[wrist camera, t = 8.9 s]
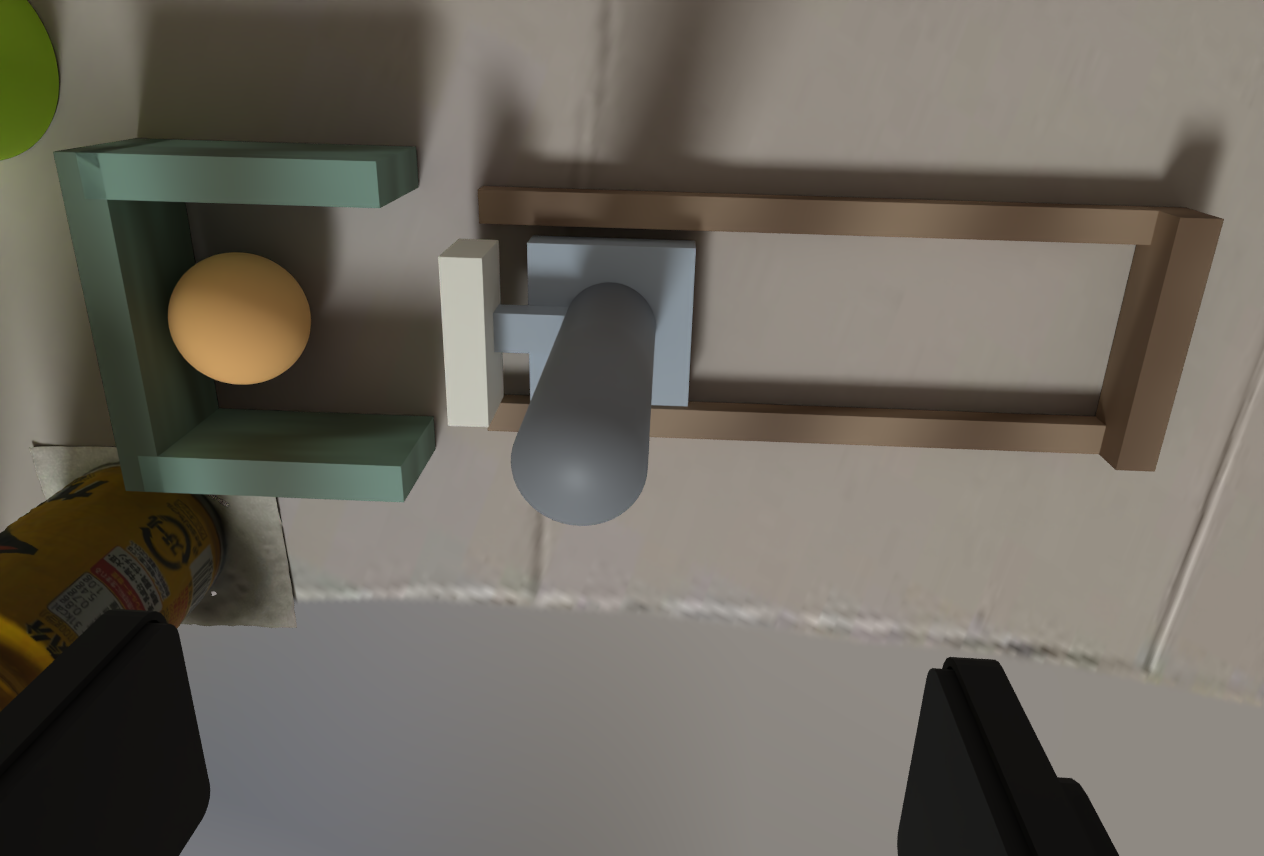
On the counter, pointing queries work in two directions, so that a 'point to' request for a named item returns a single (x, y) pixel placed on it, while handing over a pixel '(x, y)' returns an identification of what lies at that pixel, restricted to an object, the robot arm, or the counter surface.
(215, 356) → the ball
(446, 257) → the kicker
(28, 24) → the soap dispenser
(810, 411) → the track
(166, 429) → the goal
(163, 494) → the condiment
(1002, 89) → the counter surface
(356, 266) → the counter surface
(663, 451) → the counter surface
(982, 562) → the counter surface
